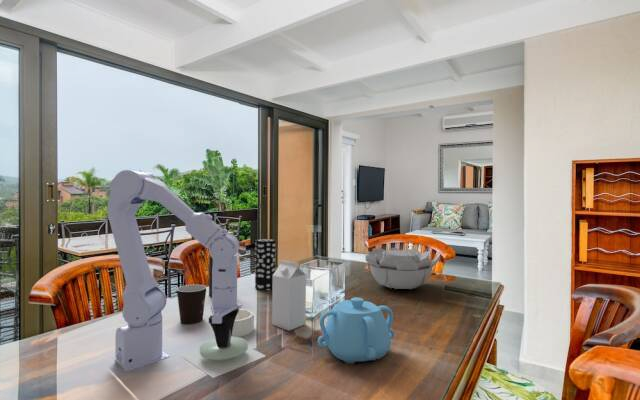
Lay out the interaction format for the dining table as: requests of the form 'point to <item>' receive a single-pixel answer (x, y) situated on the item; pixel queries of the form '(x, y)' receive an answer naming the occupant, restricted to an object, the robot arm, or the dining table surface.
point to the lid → (223, 348)
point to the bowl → (243, 323)
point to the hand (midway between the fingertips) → (224, 343)
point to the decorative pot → (357, 330)
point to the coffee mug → (191, 303)
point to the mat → (222, 362)
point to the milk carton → (288, 296)
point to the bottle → (210, 275)
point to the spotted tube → (264, 263)
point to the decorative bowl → (400, 267)
